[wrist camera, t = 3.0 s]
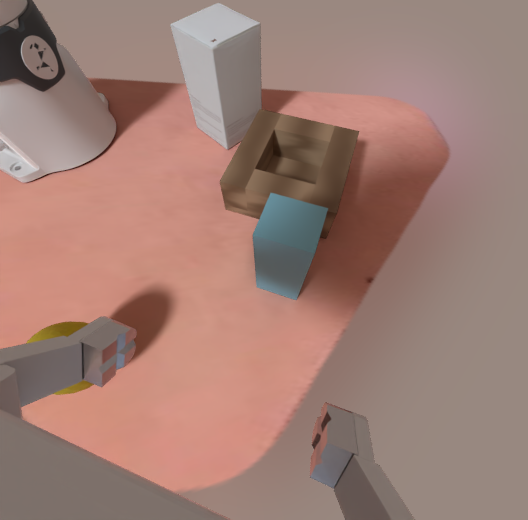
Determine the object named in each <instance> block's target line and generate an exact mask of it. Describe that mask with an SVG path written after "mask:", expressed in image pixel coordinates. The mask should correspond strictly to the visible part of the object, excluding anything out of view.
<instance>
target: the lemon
mask: <svg viewBox="0 0 528 520" xmlns="http://www.w3.org/2000/svg"><path fill="white" fill-rule="evenodd" d="M88 324H89V323H85V322H63V323H58V324H54V325H51V326H49V327H46V328H44V329H42V330H41V331H39V332H38V333H36V334H35V335H34V336H33V337H32V338H31V339H30V340H28V342H27V343H32V342H36V341H41V340H46V339H51V338H55V337H60V336H66V337H68V336H70V335H71V334H73V333H75V332H76V331H78V330H79V329H81V328H83V327H84V326H86V325H88ZM27 343H26V344H27ZM92 385H94V384H92V383H90V382H87V381H85V380H83V381H81V382H79V383H77V384H74V385H72V386H70V387H67V388H65V389H63V390H60V391H58V392H55V393H53V394H56V395H61V394H70V393H76V392H79V391H81V390H84V389H87V388H89V387H90V386H92Z"/></svg>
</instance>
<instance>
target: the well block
mask: <svg viewBox="0 0 528 520" xmlns="http://www.w3.org/2000/svg"><path fill="white" fill-rule="evenodd" d="M358 134H359V131H355V130H351V129H347V128H342V127H338V126H333V125H329V124H324V123H320V122H315V121H311V120H307V119H302V118H298V117H293V116H289V115H284V114H280V113H275V112H271V111H267V110H262V109H259V111H258V113H257V114H256V116H255V118H254V120H253V122H252V124H251V125H250V127H249V129H248V131H247V133H246V134H245V136H244V138H243V140H242V142H241V144H240V145H239V147H238V149H237V151H236V153H235V154H234V156H233V158H232V160H231V162H230V164H229V165H228V167H227V169H226V171H225V173H224V174H223V176H222V178H221V180H220V185H221V190H222V194H223V199H224V203H225V208H226V210H230V211H233V212H237V213H240V214H243V215H247V216H250V217H254V218H257V219H260V217H261V214H262V212H263V210H264V207H265V205H266V203H267V200H268V198H269V196H270V193H274V194H278V195H281V196H285V197H289V198H292V199H296V200H300V201H303V202H307V203H311V204H314V205H318V206H322V207H325V208H328V211H327V214H326V218H325V221H324V224H323V228H322V231H321V235H320V237H323V238H326V237H327V235H328V233H329V230H330V228H331V226H332V223H333V221H334V219H335V216H336V214H337V211H338V207H339V203H340V200H341V196H342V192H343V189H344V185H345V181H346V178H347V174H348V170H349V167H350V163H351V159H352V156H353V152H354V148H355V145H356V141H357V137H358Z"/></svg>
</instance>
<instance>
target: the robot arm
mask: <svg viewBox="0 0 528 520" xmlns="http://www.w3.org/2000/svg"><path fill="white" fill-rule="evenodd" d="M115 133H116V122H115V119H114V117H113V116H112V115H111V113H110V112H109V110H108V100H107V99H106V97H105V96H104V94H102V93H97V92H96V90H95V89H94V87H93V86H92V84H91V83H90V81H89V80H88V78H87V77H86V75H85V74H84V72H83V71H82V70H81V68H80V67H79V65H78V64H77V62H76V61H75V59H74V58H73V57H72V55H71V54H70V52H69V51H68V50H67V49H66V48H65V47H64V46H63V45H60V44H58V43H56V38H55V35H54V34H53V32H52V31H51V29H50V27H49V26H48V24H47V21H46V19H45V17H44V16H43V14H42V13H41V12H40V11H39V10H38V8H37V7H36V5H35V4H34V2H33V1H32V0H0V170H2V171H3V172H5V173H7V174H8V175H10V176H12V177H14V178H15V179H17V180H19V181H20V182H30V181H33V180H35V179H37V178H40V177H42V176H44V175H46V174H49V173H52V172H57V171H63V170H67V169H71V168H74V167H77V166H80V165H82V164H84V163H86V162H88V161H90V160H92V159H93V158H95V157H96V156H98V155H99V154H100V153H101V152H103V151H104V150H105V149H106V148H107V147H108V145H109V144H110V143H111V141H112V140H113V138H114V136H115ZM136 334H137V330H136V329H134V328H132V327H130V326H128V325H125V324H123V323H120V322H118V321H116V320H113V319H110V318H108V317H106V316H103V317H99V318H98V319H96V320H94V321H93V322H91V323H89V324H88V325H86V326H84V327H83V328H81V329H79V330H78V331H76V332H75V333H73V334H71V335H70V336H68V337H66V336H60V337H55V338H51V339H46V340H41V341H36V342H32V343H27V344H22V345H18V346H13V347H8V348H3V349H0V520H231V519H229V518H227V517H225V516H223V515H221V514H219V513H216V512H214V511H212V510H210V509H208V508H206V507H204V506H202V505H200V504H198V503H196V502H194V501H191V500H189V499H187V498H185V497H183V496H181V495H179V494H177V493H175V492H173V491H171V490H169V489H166V488H164V487H162V486H160V485H158V484H156V483H154V482H152V481H150V480H148V479H145V478H143V477H141V476H139V475H137V474H135V473H133V472H131V471H129V470H127V469H125V468H122V467H120V466H118V465H116V464H114V463H112V462H110V461H108V460H106V459H104V458H102V457H99V456H97V455H95V454H93V453H91V452H89V451H87V450H85V449H83V448H81V447H79V446H76V445H74V444H72V443H70V442H68V441H66V440H64V439H62V438H60V437H58V436H56V435H54V434H51V433H49V432H47V431H45V430H43V429H41V428H39V427H37V426H35V425H33V424H31V423H28V422H26V421H24V420H22V419H23V417H22V410H21V407H23V406H25V405H27V404H30V403H32V402H34V401H37V400H39V399H41V398H44V397H46V396H48V395H51V394H53V393H55V392H58V391H60V390H63V389H65V388H67V387H70V386H72V385H74V384H77V383H79V382H81V381H83V380H85V381H87V382H90V383H92V384H95V385H97V386H100V387H103V386H104V385H105V384H106V383H107V382H108V381H109V380H110V379H111V378H113V377H114V376H115V374H116V369H119V368H122V367H124V366H125V365H126V364H128V363H129V361H130V360H131V358H132V357H133V355H134V352H135V349H136V344H135V342H134V340H133V339H134V338H135V337H136ZM312 446H313V448H314V452H313V454H312V456H311V467H310V478H312V479H314V480H317V481H319V482H321V483H323V484H325V485H327V486H329V487H331V488H334V492H335V495H336V497H337V500H338V502H339V505H340V507H341V510H342V513H343V515H344V517H345V520H415V519H414V517H413V516H412V514H411V513H410V511H409V510H408V508H407V507H406V505H405V504H404V502H403V500H402V499H401V498H400V496H399V494H398V493H397V491H396V490H395V488H394V487H393V485H392V484H391V482H390V481H389V479H388V478H387V476H386V474H385V473H384V472H383V470H382V468H381V467H380V465H378V464H376V463H375V461H374V455H373V449H372V443H371V438H370V432H369V426H368V420H367V418H366V417H364V416H362V415H359V414H356V413H353V412H351V411H348V410H345V409H342V408H340V407H337V406H335V405H332V404H329V403H327V402H325V403H324V405H323V407H322V410H321V416H320V417H318V418H317V421H316V423H315V426H314V430H313V436H312Z"/></svg>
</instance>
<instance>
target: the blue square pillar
mask: <svg viewBox="0 0 528 520" xmlns="http://www.w3.org/2000/svg"><path fill="white" fill-rule="evenodd" d="M327 211H328V208H325V207H322V206H318V205H314V204H311V203H307V202H303V201H300V200H296V199H292V198H289V197H285V196H281V195H278V194H274V193H270V196H269V198H268V200H267V203H266V205H265V207H264V210H263V212H262V214H261V217H260V219H259V221H258V224H257V226H256V228H255V231H254V233H253V245H254V258H255V271H256V284H257V287H258V288H261V289H264V290H267V291H270V292H273V293H276V294H279V295H282V296H285V297H288V298H291V299H294V300H297V297H298V295H299V292H300V290H301V287H302V285H303V282H304V280H305V277H306V275H307V272H308V270H309V267H310V265H311V262H312V260H313V257H314V255H315V252H316V248H317V245H318V241H319V238H320V235H321V231H322V228H323V224H324V221H325V218H326V214H327Z"/></svg>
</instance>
